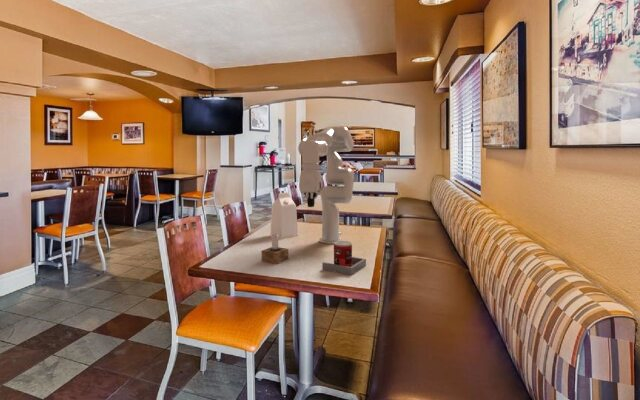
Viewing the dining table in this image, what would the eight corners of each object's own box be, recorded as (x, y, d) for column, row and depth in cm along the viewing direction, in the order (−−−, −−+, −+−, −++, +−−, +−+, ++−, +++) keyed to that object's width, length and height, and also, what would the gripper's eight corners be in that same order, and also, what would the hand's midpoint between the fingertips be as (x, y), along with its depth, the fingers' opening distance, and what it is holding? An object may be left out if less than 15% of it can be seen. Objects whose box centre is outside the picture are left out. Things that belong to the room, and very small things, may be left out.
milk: (286, 232, 232) (285, 191, 229) (297, 235, 224) (297, 193, 220) (270, 235, 224) (269, 192, 220) (281, 238, 216) (281, 194, 212)
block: (273, 256, 180) (273, 246, 179) (288, 259, 176) (288, 248, 175) (261, 261, 172) (261, 250, 172) (277, 264, 168) (276, 253, 167)
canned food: (333, 264, 168) (333, 240, 166) (351, 264, 168) (351, 240, 166) (334, 269, 160) (334, 245, 159) (352, 269, 160) (352, 245, 159)
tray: (338, 260, 173) (338, 254, 173) (365, 265, 166) (366, 259, 166) (322, 269, 161) (322, 262, 160) (351, 275, 154) (351, 268, 153)
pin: (274, 258, 176) (274, 234, 175) (279, 259, 175) (279, 234, 173) (270, 260, 173) (270, 235, 172) (275, 261, 172) (275, 236, 171)
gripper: (293, 167, 172) (293, 206, 174) (320, 168, 164) (320, 209, 167) (301, 166, 178) (302, 204, 180) (328, 167, 171) (328, 206, 173)
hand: (310, 206), depth 174 cm, fingers closed
